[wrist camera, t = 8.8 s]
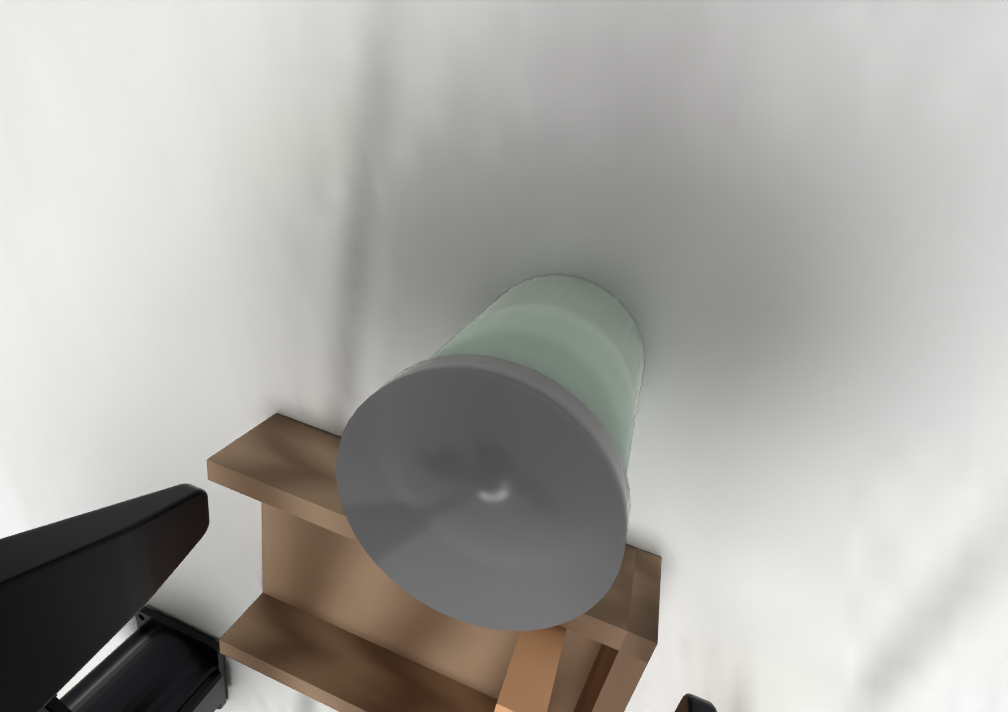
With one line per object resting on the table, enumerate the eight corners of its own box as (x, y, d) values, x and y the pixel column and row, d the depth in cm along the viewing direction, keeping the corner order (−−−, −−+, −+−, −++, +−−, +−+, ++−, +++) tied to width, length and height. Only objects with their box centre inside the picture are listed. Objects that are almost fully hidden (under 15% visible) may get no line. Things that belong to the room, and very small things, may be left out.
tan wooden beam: (499, 701, 25) (451, 851, 20) (543, 561, 21) (496, 703, 16) (528, 714, 25) (487, 870, 19) (578, 575, 21) (543, 725, 15)
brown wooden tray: (275, 591, 29) (220, 652, 26) (276, 413, 24) (206, 459, 21) (583, 730, 26) (568, 824, 22) (661, 557, 21) (657, 643, 17)
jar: (463, 403, 21) (329, 565, 13) (492, 248, 18) (344, 331, 10) (620, 456, 20) (578, 672, 12) (676, 298, 17) (672, 439, 9)
